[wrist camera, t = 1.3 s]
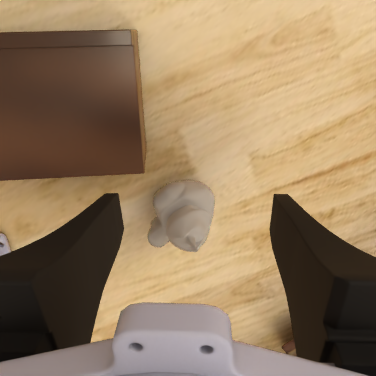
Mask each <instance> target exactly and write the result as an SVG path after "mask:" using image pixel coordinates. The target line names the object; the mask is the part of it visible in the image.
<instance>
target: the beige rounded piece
mask: <svg viewBox="0 0 376 376" xmlns="http://www.w3.org/2000/svg"><path fill="white" fill-rule="evenodd" d="M214 204H215V197H214V194H213V192H212V191H211V189H210V188H209V187H208V186H207V185H205V184H203V183H202V182H198V181H192V180H182V181H177V182H170V183H168V184H166V185H165V186H163V187H162V188H161V189H160V190H158V191H157V192H156V193H155V194H154V197H153V205H154V208H155V213H156V215H157V217H155V218H154V219H153V220H152V222H151V228H150V230H149V232H148V241H149V243H150V244H151V245H152V246H154V247H162V246H164V245H165V244H166V243H167V242H169V241H170V242H171V243H172V244H173V245H174V246H176V247H178V248H179V249H182V250H184V251H190V252H197V251H198V249H199V248H200V246H202V245H203V244H204V242H205V241H206V239H207V236H208V233H209V230H210V226H211V222H212V218H213V213H214Z"/></svg>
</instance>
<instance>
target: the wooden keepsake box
mask: <svg viewBox="0 0 376 376" xmlns="http://www.w3.org/2000/svg"><path fill="white" fill-rule="evenodd" d="M145 160H146V138H145V125H144V112H143V100H142V87H141V74H140V61H139V49H138V36H137V30H89V31H43V32H0V181H4V180H23V179H43V178H62V177H81V176H101V175H120V174H140V173H144V172H145Z"/></svg>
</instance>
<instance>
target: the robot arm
mask: <svg viewBox="0 0 376 376" xmlns="http://www.w3.org/2000/svg"><path fill="white" fill-rule="evenodd" d="M123 231H124V225H123V219H122V213H121V207H120V201H119V194H118V193H106V194H104V195H103V196H101V197H100V198H99V199H98V200H96V201H95V202H94V203H93V204H91V205H90V206H89V207H88V208H86V209H85V210H84V211H83V212H81V213H80V214H79V215H77V216H76V217H74V218H73V219H72V220H70V221H69V222H67V223H66V224H65V225H63V226H62V227H60V228H59V229H57V230H55V231H54V232H52V233H50V234H48V235H47V236H45V237H43V238H41V239H39V240H37V241H35V242H33V243H31V244H29V245H27V246H24V247H22V248H20V249H17V250H15V251H12V252H11V250H10V246H9V243H8V240H7V237H6V236H5V235H4V234H2V233H0V242H1V243H3V244H4V245H2V244H0V376H376V257H374V256H371V255H369V254H367V253H365V252H363V251H361V250H360V249H358V248H356V247H354V246H352V245H350V244H349V243H347V242H345V241H344V240H342V239H341V238H339V237H338V236H336V235H334V234H333V233H332V232H330V231H329V230H327V229H326V228H325V227H324V226H322V225H321V224H320V223H318V222H317V221H316V220H315V219H314V218H313V217H311V216H310V215H309V214H308V213H307V212H306V211H305V210H304V209H303V208H302V207H301V206H299V205H298V204H297V203H296V202H295V201H294V200H293V199H292V198H291V197H290V196H289V195H288V194H274V198H273V206H272V215H271V223H270V236H271V243H272V249H273V252H274V255H275V259H276V262H277V265H278V269H279V272H280V275H281V279H282V282H283V285H284V288H285V292H286V296H287V301H288V307H289V312H290V317H291V323H292V329H293V335H294V342H295V348H296V355H297V357H296V356H292V355H288V354H285V353H281V352H277V351H273V350H269V349H266V348H262V347H258V346H254V345H250V344H247V343H243V342H239V341H235V340H232V333H231V322H230V320H229V317H228V314H226V313H225V312H224V311H222V310H221V309H219V308H218V307H216V306H211V305H206V304H183V303H145V302H143V303H137V304H131V305H129V306H127V307H126V308H125V309H123V310H122V311H121V313H120V316H119V320H118V324H117V327H116V331H115V334H114V338H112V339H107V340H102V341H98V342H93V343H90V342H91V337H92V332H93V328H94V324H95V320H96V316H97V311H98V308H99V304H100V300H101V296H102V292H103V290H104V287H105V284H106V281H107V279H108V276H109V273H110V271H111V268H112V266H113V263H114V261H115V258H116V256H117V253H118V250H119V248H120V244H121V240H122V236H123Z"/></svg>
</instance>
